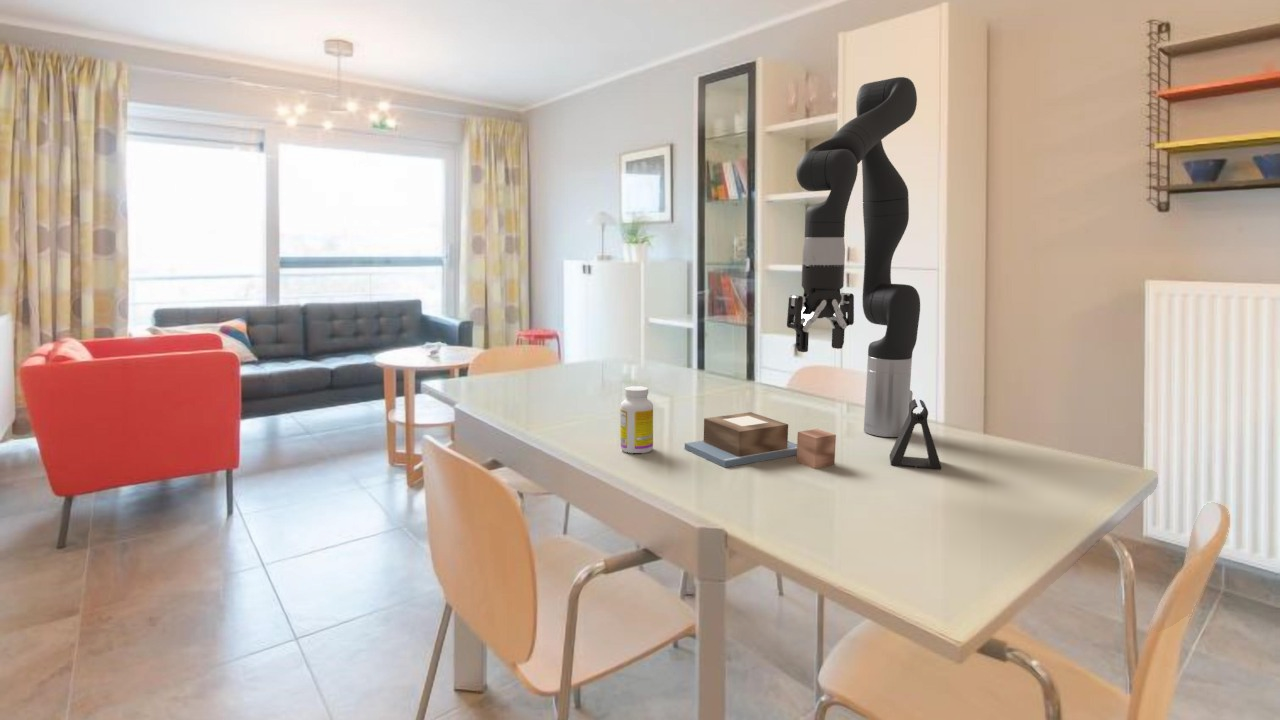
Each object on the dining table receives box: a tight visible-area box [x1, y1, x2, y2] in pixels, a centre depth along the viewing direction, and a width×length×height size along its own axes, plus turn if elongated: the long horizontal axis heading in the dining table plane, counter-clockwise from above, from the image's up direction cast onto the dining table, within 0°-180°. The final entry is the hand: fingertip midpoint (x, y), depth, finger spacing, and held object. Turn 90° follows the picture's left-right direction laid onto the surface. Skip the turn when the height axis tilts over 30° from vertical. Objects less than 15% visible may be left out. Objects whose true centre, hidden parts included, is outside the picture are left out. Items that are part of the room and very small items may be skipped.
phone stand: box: [889, 399, 942, 471], centre depth 135 cm, size 9×6×12 cm, turn 73°
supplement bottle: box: [619, 385, 654, 454], centre depth 143 cm, size 7×7×13 cm
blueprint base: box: [684, 412, 797, 468], centre depth 143 cm, size 20×14×6 cm
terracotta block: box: [796, 428, 837, 470], centre depth 135 cm, size 5×5×6 cm
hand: (819, 349), depth 132 cm, fingers open, 8 cm apart
